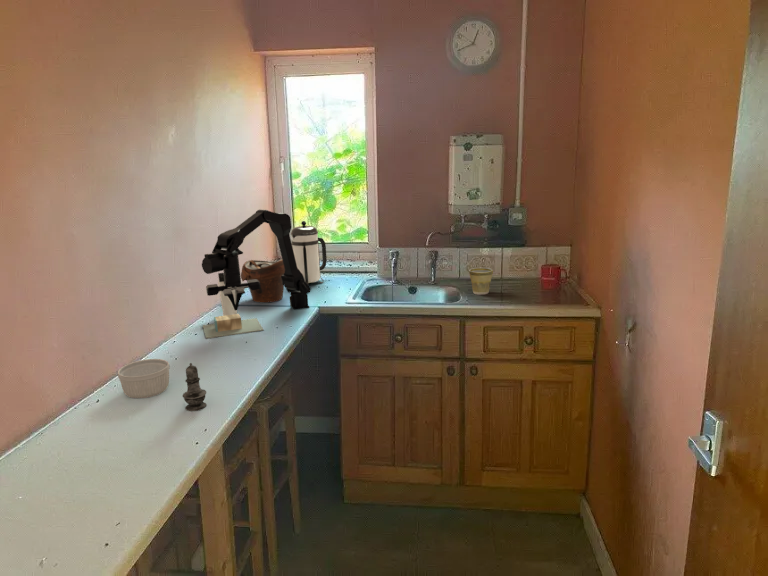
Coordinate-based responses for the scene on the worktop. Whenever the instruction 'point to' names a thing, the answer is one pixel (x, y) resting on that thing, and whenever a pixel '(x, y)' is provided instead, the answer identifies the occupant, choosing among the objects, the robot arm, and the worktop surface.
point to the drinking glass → (226, 302)
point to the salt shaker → (194, 390)
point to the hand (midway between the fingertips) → (235, 310)
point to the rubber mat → (247, 327)
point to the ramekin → (144, 378)
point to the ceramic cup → (480, 280)
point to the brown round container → (265, 279)
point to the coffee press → (308, 252)
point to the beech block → (227, 322)
